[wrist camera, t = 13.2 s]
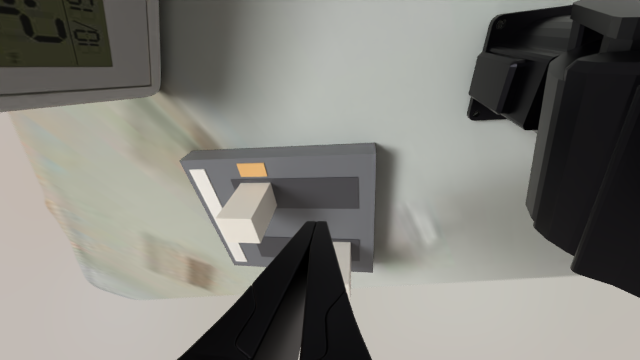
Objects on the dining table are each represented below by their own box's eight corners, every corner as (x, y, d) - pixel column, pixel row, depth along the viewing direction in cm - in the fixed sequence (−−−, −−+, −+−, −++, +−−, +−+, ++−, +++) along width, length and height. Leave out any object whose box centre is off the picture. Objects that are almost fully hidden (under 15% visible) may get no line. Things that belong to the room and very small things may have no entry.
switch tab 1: (270, 182, 21) (250, 218, 17) (277, 205, 23) (260, 243, 19) (240, 183, 22) (215, 218, 18) (249, 205, 23) (227, 242, 19)
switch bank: (374, 142, 20) (376, 154, 18) (371, 258, 29) (372, 273, 27) (191, 150, 23) (178, 161, 21) (240, 252, 32) (234, 265, 30)
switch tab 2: (350, 242, 24) (349, 284, 20) (351, 258, 26) (350, 300, 22) (322, 241, 25) (316, 282, 21) (325, 257, 26) (319, 298, 23)
